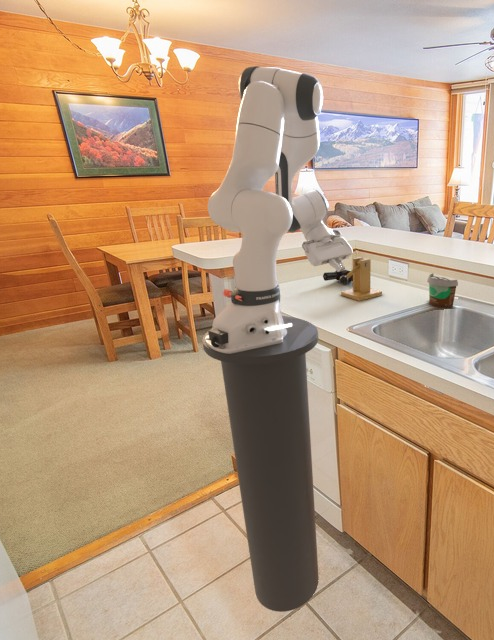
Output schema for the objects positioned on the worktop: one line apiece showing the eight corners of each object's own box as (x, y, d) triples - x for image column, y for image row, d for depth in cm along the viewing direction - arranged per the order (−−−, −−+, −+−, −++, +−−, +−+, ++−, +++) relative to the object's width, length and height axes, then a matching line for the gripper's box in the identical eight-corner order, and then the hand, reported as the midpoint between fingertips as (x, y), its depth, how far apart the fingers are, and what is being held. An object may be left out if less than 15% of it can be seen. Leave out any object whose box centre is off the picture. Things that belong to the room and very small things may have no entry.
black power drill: (379, 272, 182) (354, 266, 191) (345, 275, 168) (319, 268, 177) (378, 285, 184) (353, 278, 193) (344, 289, 170) (319, 281, 179)
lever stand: (358, 301, 159) (358, 263, 153) (341, 295, 165) (340, 258, 159) (382, 294, 167) (382, 258, 161) (364, 289, 173) (364, 254, 167)
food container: (418, 302, 159) (420, 275, 155) (430, 299, 163) (432, 272, 159) (444, 311, 151) (446, 282, 147) (455, 307, 154) (458, 279, 150)
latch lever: (345, 287, 157) (341, 280, 155) (339, 285, 159) (336, 278, 157) (368, 265, 162) (365, 258, 159) (362, 264, 164) (359, 257, 161)
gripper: (304, 236, 147) (326, 270, 146) (343, 230, 162) (363, 260, 161) (295, 248, 151) (317, 280, 150) (334, 241, 166) (354, 270, 166)
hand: (341, 270), depth 156 cm, fingers closed
